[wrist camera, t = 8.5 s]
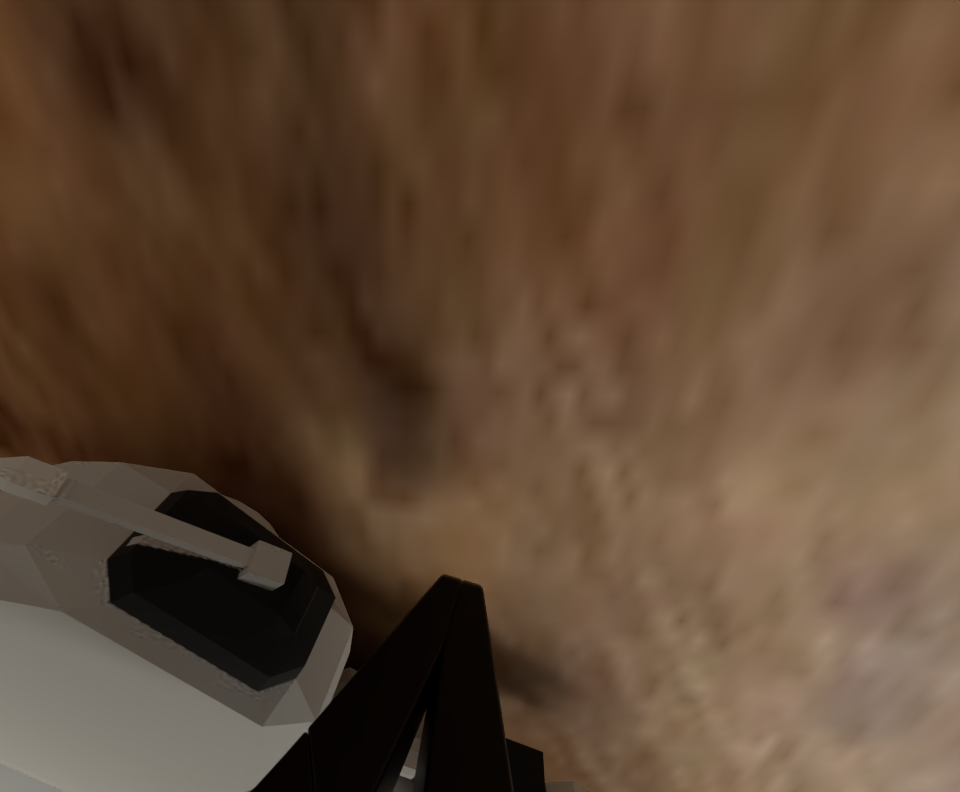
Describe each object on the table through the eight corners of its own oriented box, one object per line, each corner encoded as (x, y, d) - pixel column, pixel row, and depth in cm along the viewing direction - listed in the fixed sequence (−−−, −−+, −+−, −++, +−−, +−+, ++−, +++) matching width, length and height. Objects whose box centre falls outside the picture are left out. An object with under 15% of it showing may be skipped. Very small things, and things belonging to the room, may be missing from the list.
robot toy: (625, 698, 14) (166, 305, 9) (646, 931, 10) (-128, 469, 5) (355, 762, 19) (-16, 543, 15) (304, 927, 16) (-220, 705, 11)
